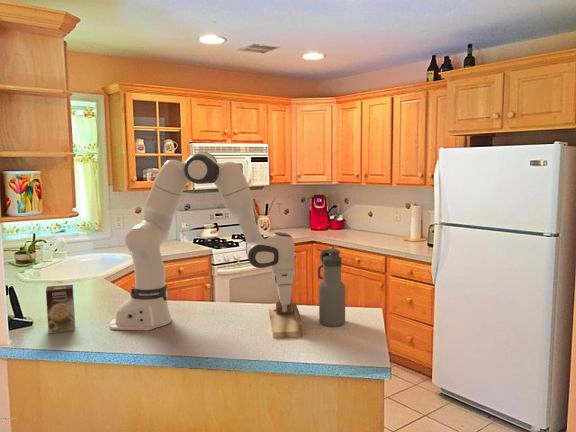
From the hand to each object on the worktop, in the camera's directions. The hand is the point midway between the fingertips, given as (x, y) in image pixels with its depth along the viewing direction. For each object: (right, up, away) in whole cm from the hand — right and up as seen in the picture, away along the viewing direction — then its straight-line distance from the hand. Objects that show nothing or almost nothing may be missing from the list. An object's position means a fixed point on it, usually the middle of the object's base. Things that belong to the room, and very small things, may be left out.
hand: (283, 309), depth 193 cm
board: (0, -4, -7) cm, 8 cm away
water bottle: (+18, -4, -5) cm, 19 cm away
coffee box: (-82, -6, -9) cm, 83 cm away
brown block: (0, -1, 0) cm, 2 cm away
